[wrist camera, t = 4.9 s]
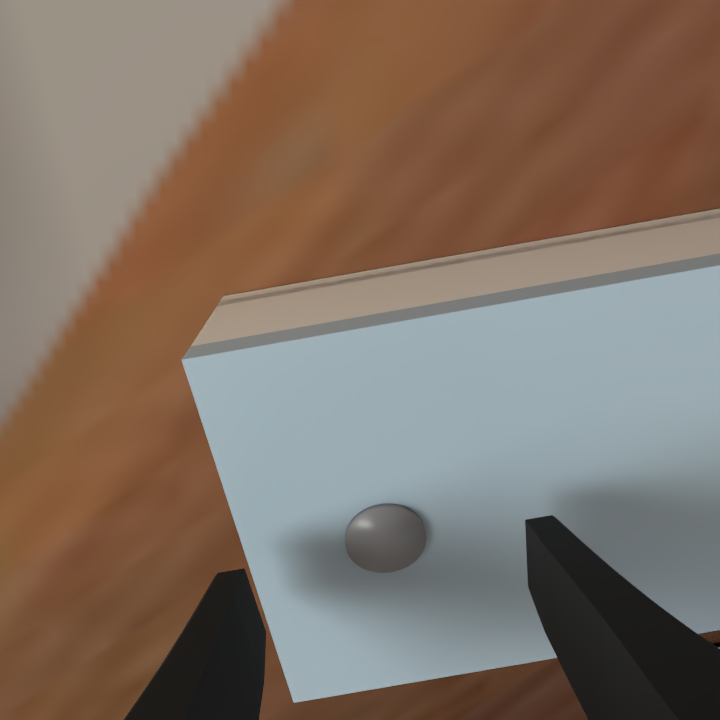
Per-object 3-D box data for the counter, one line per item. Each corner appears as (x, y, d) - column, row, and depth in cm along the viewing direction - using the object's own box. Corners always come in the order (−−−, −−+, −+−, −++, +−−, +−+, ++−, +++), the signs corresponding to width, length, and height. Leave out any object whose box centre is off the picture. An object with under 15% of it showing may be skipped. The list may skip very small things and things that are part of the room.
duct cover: (295, 676, 16) (293, 709, 15) (190, 346, 11) (179, 363, 10) (879, 576, 16) (914, 603, 15) (995, 204, 11) (1055, 209, 10)
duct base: (831, 189, 15) (996, 204, 11) (771, 491, 19) (876, 573, 16) (223, 296, 15) (191, 346, 11) (301, 572, 19) (295, 673, 16)
